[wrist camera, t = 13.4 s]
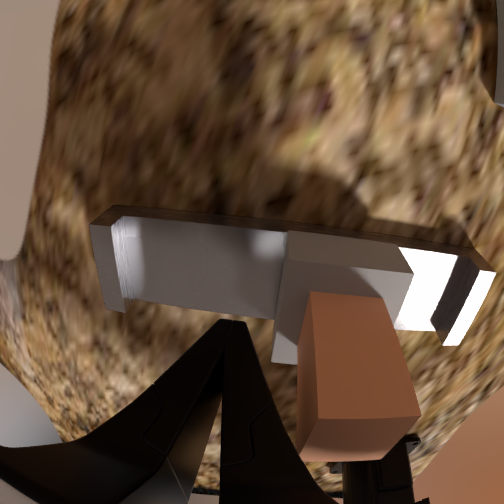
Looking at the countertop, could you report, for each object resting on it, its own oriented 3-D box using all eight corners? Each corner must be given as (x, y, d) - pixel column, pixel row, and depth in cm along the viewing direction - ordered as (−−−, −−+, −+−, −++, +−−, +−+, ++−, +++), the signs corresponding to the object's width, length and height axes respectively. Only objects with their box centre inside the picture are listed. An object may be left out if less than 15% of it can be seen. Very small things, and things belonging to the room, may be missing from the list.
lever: (364, 334, 12) (391, 469, 7) (273, 326, 13) (260, 470, 7) (396, 244, 10) (470, 385, 5) (288, 230, 11) (287, 388, 5)
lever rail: (444, 318, 13) (458, 345, 11) (124, 283, 14) (106, 308, 12) (475, 249, 11) (496, 272, 9) (113, 204, 12) (88, 224, 10)
